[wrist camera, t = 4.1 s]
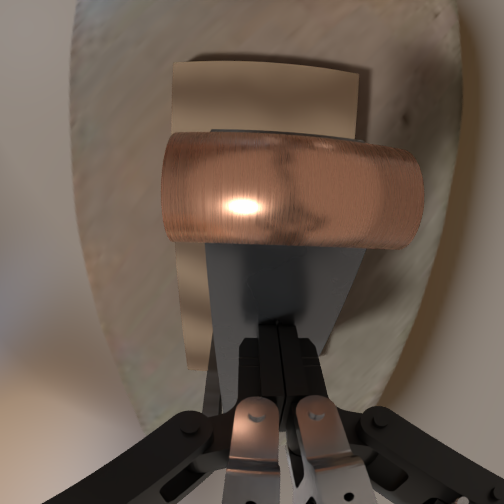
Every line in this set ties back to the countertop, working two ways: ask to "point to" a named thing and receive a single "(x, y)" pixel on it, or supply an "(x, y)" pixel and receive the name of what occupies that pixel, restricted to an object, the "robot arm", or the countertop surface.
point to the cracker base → (246, 118)
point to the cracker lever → (284, 225)
